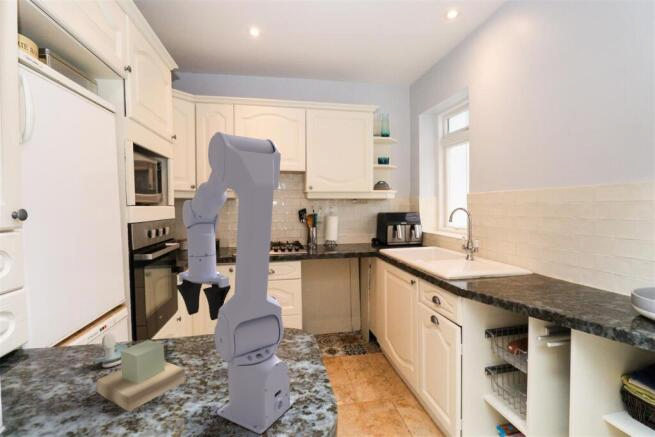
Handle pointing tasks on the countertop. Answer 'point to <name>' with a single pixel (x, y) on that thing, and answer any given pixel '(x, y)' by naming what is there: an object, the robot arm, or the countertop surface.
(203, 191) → the robot arm
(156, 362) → the green cube
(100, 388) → the block
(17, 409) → the countertop surface
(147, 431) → the countertop surface
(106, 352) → the pacifier
